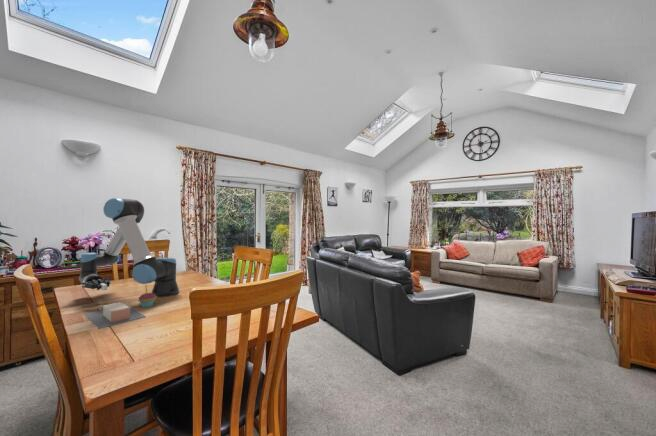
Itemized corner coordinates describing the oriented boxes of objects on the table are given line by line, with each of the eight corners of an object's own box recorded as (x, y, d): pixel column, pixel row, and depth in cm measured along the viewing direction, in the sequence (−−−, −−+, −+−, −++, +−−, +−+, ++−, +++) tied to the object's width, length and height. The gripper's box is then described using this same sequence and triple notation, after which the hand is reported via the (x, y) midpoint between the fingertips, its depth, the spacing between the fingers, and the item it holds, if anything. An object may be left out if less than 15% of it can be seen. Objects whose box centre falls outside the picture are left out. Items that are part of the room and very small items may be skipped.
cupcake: (135, 307, 147) (135, 285, 147) (151, 302, 155) (151, 281, 155) (143, 309, 143) (144, 287, 143) (160, 305, 151) (160, 283, 151)
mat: (83, 314, 135) (83, 313, 135) (126, 305, 150) (126, 304, 150) (98, 329, 118) (98, 328, 118) (145, 317, 133) (145, 316, 133)
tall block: (103, 305, 133) (112, 311, 125) (120, 302, 139) (130, 307, 130) (103, 315, 133) (112, 322, 125) (120, 311, 139) (130, 318, 130)
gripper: (107, 285, 163) (120, 292, 148) (78, 289, 152) (89, 297, 138) (107, 273, 163) (120, 278, 148) (78, 276, 152) (89, 283, 138)
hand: (105, 287), depth 143 cm, fingers closed
